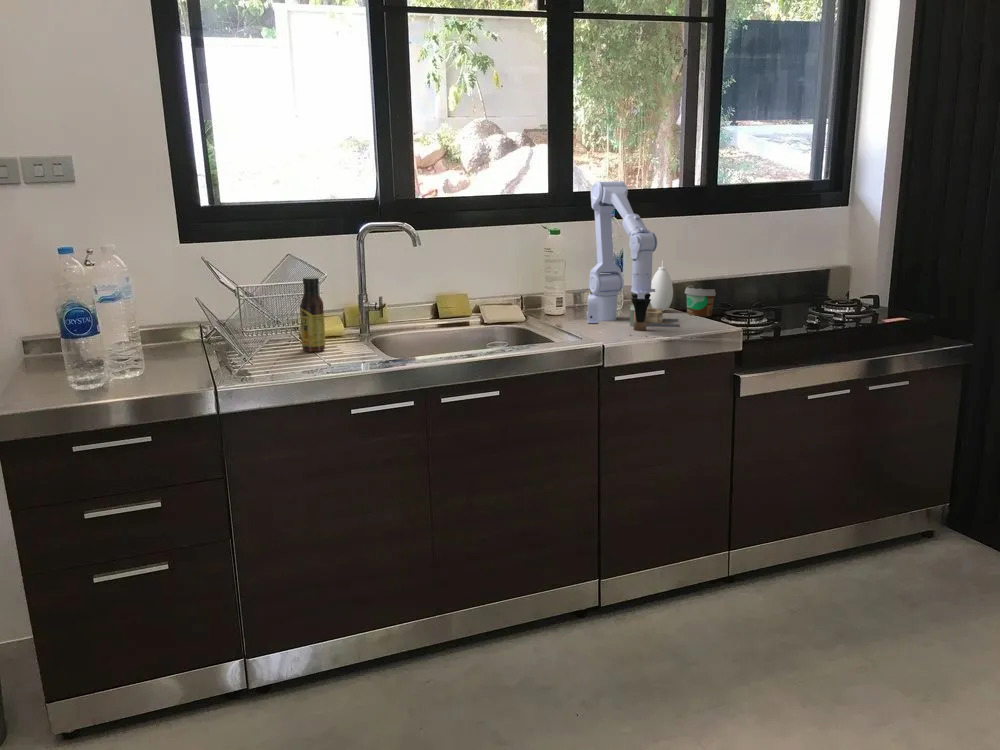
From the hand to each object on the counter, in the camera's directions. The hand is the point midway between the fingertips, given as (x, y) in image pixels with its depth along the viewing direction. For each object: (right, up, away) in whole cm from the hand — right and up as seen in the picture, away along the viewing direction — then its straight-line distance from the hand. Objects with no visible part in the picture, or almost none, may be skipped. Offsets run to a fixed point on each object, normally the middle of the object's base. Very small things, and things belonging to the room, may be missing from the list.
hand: (640, 319), depth 247 cm
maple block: (+5, 0, +12) cm, 13 cm away
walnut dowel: (0, -4, +1) cm, 4 cm away
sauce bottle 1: (-92, -10, -22) cm, 95 cm away
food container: (+23, +2, +28) cm, 36 cm away
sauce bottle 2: (+13, +5, +39) cm, 42 cm away
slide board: (+6, -1, +12) cm, 14 cm away
